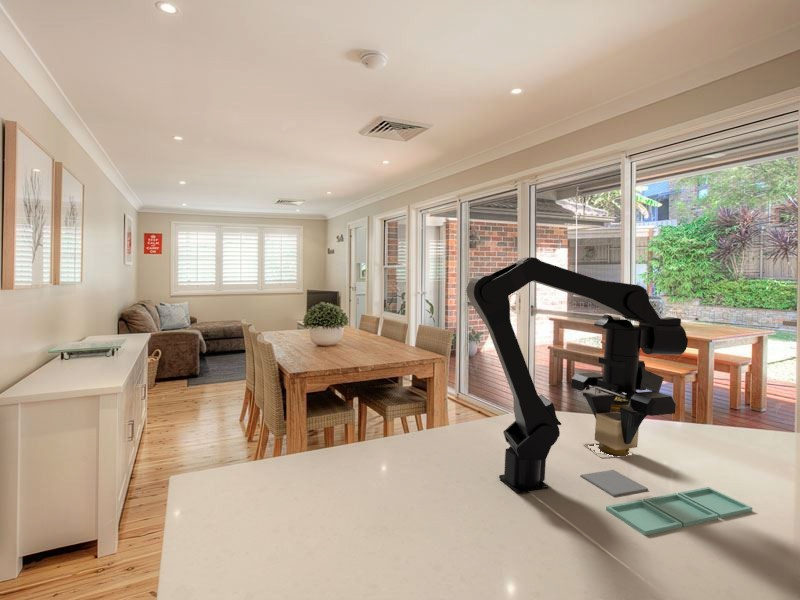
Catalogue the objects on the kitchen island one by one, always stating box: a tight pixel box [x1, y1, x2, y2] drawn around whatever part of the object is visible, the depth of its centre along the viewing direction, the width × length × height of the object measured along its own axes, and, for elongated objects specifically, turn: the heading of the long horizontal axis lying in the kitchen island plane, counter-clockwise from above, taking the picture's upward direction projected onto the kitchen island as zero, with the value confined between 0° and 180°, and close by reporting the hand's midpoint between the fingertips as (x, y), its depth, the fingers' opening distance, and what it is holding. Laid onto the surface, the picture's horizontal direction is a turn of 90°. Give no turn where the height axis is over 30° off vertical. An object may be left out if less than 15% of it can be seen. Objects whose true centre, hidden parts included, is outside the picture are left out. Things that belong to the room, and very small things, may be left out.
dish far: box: [677, 486, 753, 519], centre depth 79 cm, size 8×8×1 cm
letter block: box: [594, 412, 640, 450], centre depth 85 cm, size 5×5×5 cm
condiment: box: [583, 397, 636, 458], centre depth 101 cm, size 7×8×12 cm
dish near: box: [605, 499, 683, 536], centre depth 73 cm, size 8×8×1 cm
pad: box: [579, 469, 649, 498], centre depth 85 cm, size 8×8×1 cm
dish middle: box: [642, 492, 719, 528], centre depth 76 cm, size 8×8×1 cm
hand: (615, 438), depth 85 cm, fingers closed on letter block, 5 cm apart
